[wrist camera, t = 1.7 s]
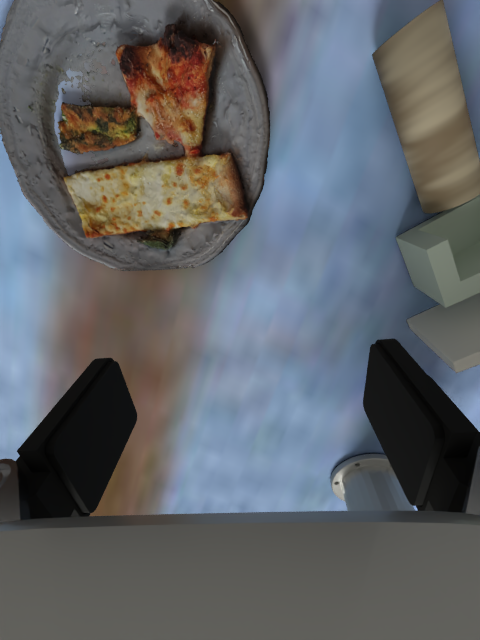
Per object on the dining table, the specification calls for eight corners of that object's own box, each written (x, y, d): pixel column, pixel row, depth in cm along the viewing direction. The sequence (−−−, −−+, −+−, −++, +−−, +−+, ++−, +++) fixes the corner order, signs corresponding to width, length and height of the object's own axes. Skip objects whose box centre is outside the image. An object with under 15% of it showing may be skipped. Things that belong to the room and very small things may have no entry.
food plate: (269, -38, 21) (271, -73, 18) (269, 260, 32) (270, 270, 29) (-29, -3, 24) (-73, -30, 20) (64, 266, 34) (44, 275, 31)
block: (509, 240, 30) (566, 253, 24) (414, 286, 32) (445, 307, 27) (497, 182, 27) (557, 183, 22) (395, 237, 30) (426, 250, 25)
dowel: (461, 183, 28) (499, 184, 24) (413, 210, 29) (440, 216, 25) (420, 21, 23) (458, -15, 19) (363, 63, 24) (387, 38, 20)
